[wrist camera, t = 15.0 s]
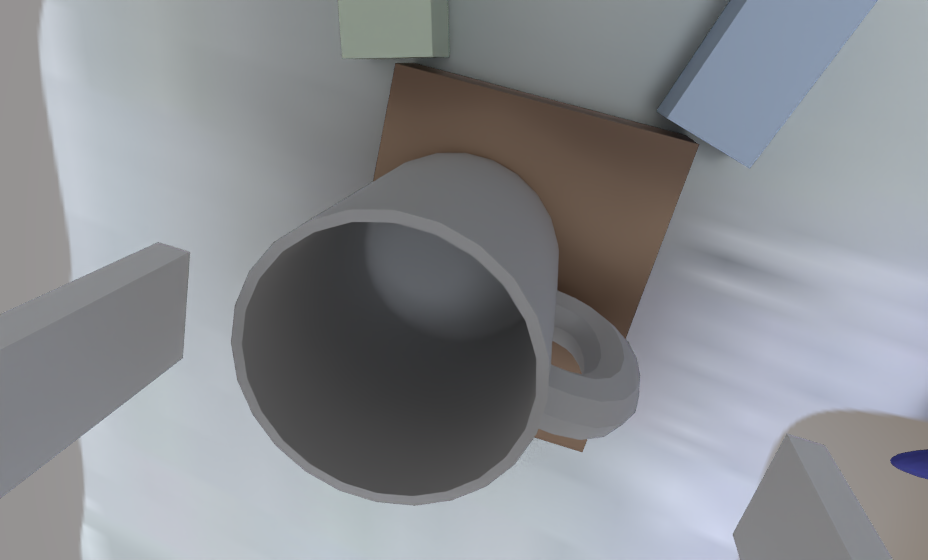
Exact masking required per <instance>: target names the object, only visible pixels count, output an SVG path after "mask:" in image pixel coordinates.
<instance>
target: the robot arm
mask: <svg viewBox="0 0 928 560" xmlns="http://www.w3.org/2000/svg"><path fill="white" fill-rule="evenodd" d="M189 259H190V252H189V251H186V250H182V249H179V248H176V247H172V246H169V245H166V244H163V243H159V242H157V243H155V244H153V245H151V246H149V247H146V248H144V249H142V250H140V251H138V252H135V253H133V254H131V255H129V256H127V257H125V258H122V259H120V260H118V261H116V262H114V263H111V264H109V265H107V266H105V267H103V268H100V269H98V270H96V271H94V272H92V273H89V274H87V275H85V276H83V277H81V278H79V279H76V280H74V281H72V282H70V283H68V284H65V285H63V286H61V287H59V288H57V289H54V290H52V291H51V292H48V293H46V294H44V295H41V296H39V297H37V298H35V299H32V300H30V301H28V302H26V303H24V304H22V305H19V306H17V307H15V308H13V309H11V310H8V311H6V312H4V313H2V314H0V498H2V497H3V496H4V495H6V494H7V493H8V492H9V491H10V490H12V489H13V488H15V487H16V486H17V485H18V484H20V483H21V482H22V481H24V480H25V479H26V478H27V477H29V476H30V475H31V474H33V473H34V472H35V471H37V470H38V469H39V468H41V467H42V466H43V465H45V464H46V463H47V462H48V461H50V460H51V459H52V458H54V457H55V456H56V455H57V454H59V453H60V452H61V451H63V450H64V449H65V448H67V447H68V446H69V445H70V444H72V443H73V442H74V441H76V440H77V439H78V438H80V437H81V436H82V435H83V434H85V433H86V432H87V431H89V430H90V429H91V428H93V427H94V426H95V425H96V424H98V423H99V422H100V421H102V420H103V419H104V418H106V417H107V416H108V415H109V414H111V413H112V412H113V411H115V410H116V409H117V408H119V407H120V406H121V405H122V404H124V403H125V402H126V401H128V400H129V399H130V398H132V397H133V396H134V395H135V394H137V393H138V392H139V391H141V390H142V389H143V388H145V387H146V386H147V385H148V384H150V383H151V382H152V381H154V380H155V379H156V378H157V377H159V376H160V375H161V374H163V373H164V372H165V371H167V370H168V369H169V368H170V367H172V366H173V365H174V364H176V363H177V362H178V361H180V360H181V359H182V358H183V348H184V333H185V318H186V303H187V289H188V274H189ZM733 537H734V540H735V544H736V547H737V550H738V554H739V557H740V560H893V559H892V557H891V555H890V554H889V552H888V550H887V549H886V547H885V545H884V543H883V542H882V540H881V538H880V537H879V535H878V534H877V532H876V530H875V528H874V527H873V525H872V523H871V522H870V520H869V518H868V517H867V515H866V513H865V511H864V510H863V508H862V506H861V505H860V503H859V502H858V500H857V498H856V496H855V495H854V493H853V491H852V490H851V488H850V486H849V485H848V483H847V481H846V480H845V478H844V476H843V474H842V473H841V471H840V469H839V468H838V466H837V464H836V463H835V461H834V459H833V458H832V456H831V454H830V453H829V451H828V449H827V448H826V446H825V445H823V444H820V443H817V442H813V441H810V440H807V439H804V438H800V437H797V436H794V435H790V434H786V436H785V438H784V440H783V442H782V444H781V445H780V447H779V449H778V451H777V453H776V455H775V457H774V458H773V460H772V462H771V464H770V466H769V468H768V469H767V471H766V473H765V475H764V477H763V479H762V481H761V482H760V484H759V486H758V488H757V490H756V492H755V494H754V495H753V497H752V499H751V501H750V503H749V505H748V507H747V508H746V510H745V512H744V514H743V516H742V518H741V520H740V521H739V523H738V525H737V527H736V529H735V531H734V533H733Z"/></svg>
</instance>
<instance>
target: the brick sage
mask: <svg viewBox="0 0 928 560" xmlns="http://www.w3.org/2000/svg"><path fill="white" fill-rule="evenodd" d="M338 12H339V25H340V38H341V51H342V59H386V58H436V57H449V16H448V0H338Z"/></svg>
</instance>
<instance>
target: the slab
mask: <svg viewBox="0 0 928 560" xmlns="http://www.w3.org/2000/svg"><path fill="white" fill-rule="evenodd" d="M698 146H699V144H698V143H696V142H695V141H693V140H692V139H691V138H689V137H688V136H686V135H683V134H679V133H675V132H671V131H668V130H664V129H660V128H656V127H653V126H649V125H645V124H641V123H638V122H634V121H630V120H626V119H623V118H619V117H615V116H611V115H608V114H604V113H600V112H596V111H593V110H589V109H585V108H581V107H578V106H574V105H570V104H566V103H563V102H559V101H555V100H551V99H548V98H544V97H540V96H536V95H533V94H529V93H525V92H521V91H518V90H514V89H510V88H506V87H503V86H499V85H495V84H491V83H488V82H484V81H480V80H476V79H473V78H469V77H465V76H461V75H458V74H454V73H450V72H446V71H443V70H439V69H435V68H431V67H428V66H424V65H420V64H416V63H395V69H394V74H393V79H392V84H391V90H390V95H389V100H388V105H387V111H386V116H385V121H384V126H383V132H382V137H381V142H380V148H379V153H378V158H377V163H376V169H375V174H374V179H373V181H375V180H377V179H378V178H380V177H382V176H383V175H385V174H387V173H388V172H390V171H392V170H393V169H395V168H397V167H398V166H400V165H402V164H403V163H405V162H408V161H411V160H415V159H418V158H422V157H425V156H428V155H432V154H435V153H468V154H472V155H476V156H479V157H483V158H487V159H491V160H493V161H495V162H497V163H499V164H500V165H502V166H504V167H506V168H507V169H509V170H511V171H512V172H514V173H516V174H517V175H518V176H519V177H521V178H522V179H523V180H524V181H525V182H526V183H527V184H528V185H529V186H530V187H531V188H532V189H533V190H534V191H535V192H536V193H537V195H538V196H539V198H540V200H541V201H542V203H543V205H544V207H545V208H546V210H547V212H548V214H549V215H550V217H551V220H552V223H553V227H554V231H555V235H556V239H557V243H558V248H559V261H558V286H557V290H558V291H560V292H562V293H565V294H567V295H569V296H571V297H574V298H576V299H577V300H579V301H581V302H583V303H585V304H586V305H588V306H590V307H591V308H593V309H594V310H595V311H596V312H598V313H599V314H600V315H601V316H603V317H604V318H605V319H606V320H608V321H609V322H610V323H611V324H612V325H614V326H615V328H616V329H617V330H618V331H619V332H620V333H621V334H622V336H623V337H624V338H626V336H627V333H628V331H629V328H630V325H631V323H632V320H633V317H634V315H635V312H636V310H637V307H638V304H639V302H640V299H641V296H642V294H643V291H644V288H645V286H646V283H647V281H648V278H649V275H650V273H651V270H652V267H653V265H654V262H655V260H656V257H657V254H658V252H659V249H660V246H661V244H662V241H663V238H664V236H665V233H666V231H667V228H668V225H669V223H670V220H671V217H672V215H673V212H674V209H675V207H676V204H677V202H678V199H679V196H680V194H681V191H682V188H683V186H684V183H685V181H686V178H687V175H688V173H689V170H690V167H691V165H692V162H693V159H694V157H695V154H696V152H697V149H698ZM551 365H554V366H556V367H559V368H561V369H564V370H566V371H569V372H573V373H578V374H582V373H581V370H580V367H579V365H578V363H577V361H576V360H575V358H574V357H573V355H572V354H571V353H570V352H569V351H568V350H567V349H566V348H564V347H562V346H561V345H559V344H557V343H556V342H554V341H552V354H551ZM535 438H538V439H541V440H545V441H548V442H551V443H554V444H558V445H561V446H564V447H567V448H571V449H574V450H577V451H580V452H583V449H584V446H585V444H586V441H587V439H585V440H578V439H573V438H568V437H564V436H559V435H554V434H551V433H548V432H546V431H543V430H541V429H538V431H537V434H536V435H535Z"/></svg>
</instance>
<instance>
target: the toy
mask: <svg viewBox="0 0 928 560" xmlns="http://www.w3.org/2000/svg"><path fill="white" fill-rule="evenodd" d="M890 461H891V464H892V465H893V466H895V467H896V468H898V469H900V470H902V471H904V472H907V473H910V474H912V475H915V476H917V477H921V478H925V479H928V449H927V450H917V451H911V452H905V453H901V454H897V455H896V456H894V457H892V458H891V460H890Z"/></svg>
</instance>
